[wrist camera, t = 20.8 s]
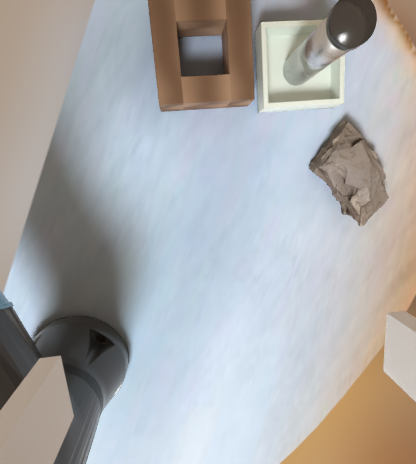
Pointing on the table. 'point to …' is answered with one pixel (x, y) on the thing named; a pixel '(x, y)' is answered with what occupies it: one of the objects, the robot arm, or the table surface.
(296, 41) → the tray
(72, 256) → the table surface
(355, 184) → the rock
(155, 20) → the bore block
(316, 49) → the capped bottle
